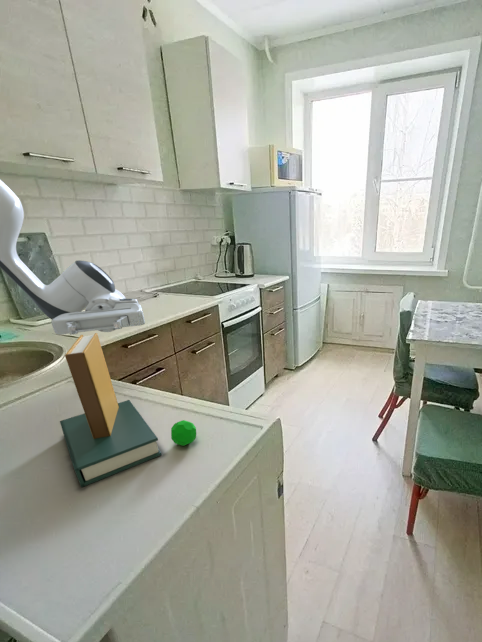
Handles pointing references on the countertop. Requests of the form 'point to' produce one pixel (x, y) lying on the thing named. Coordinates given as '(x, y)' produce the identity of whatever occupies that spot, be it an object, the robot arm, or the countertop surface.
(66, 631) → the countertop surface
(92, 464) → the hardcover
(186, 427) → the polyhedron
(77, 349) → the paperback
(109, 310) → the robot arm
